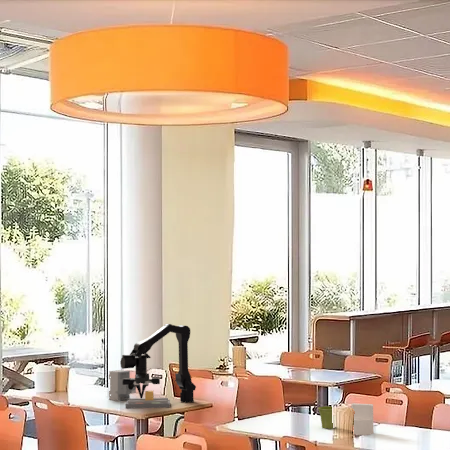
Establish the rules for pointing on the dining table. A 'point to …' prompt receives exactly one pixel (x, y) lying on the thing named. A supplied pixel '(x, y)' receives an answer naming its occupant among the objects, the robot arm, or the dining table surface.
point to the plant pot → (326, 417)
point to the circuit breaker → (120, 385)
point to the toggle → (149, 395)
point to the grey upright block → (363, 419)
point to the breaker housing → (148, 403)
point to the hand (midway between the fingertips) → (141, 398)
